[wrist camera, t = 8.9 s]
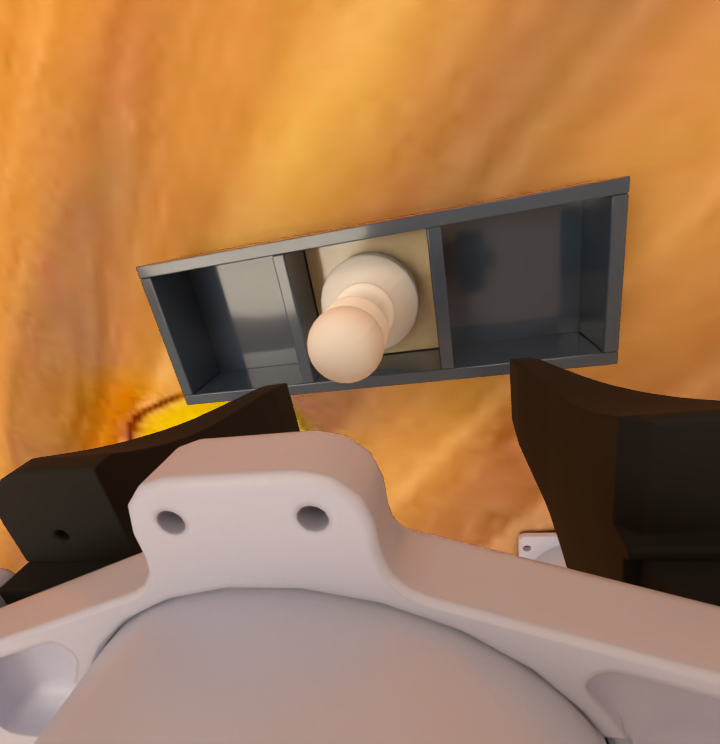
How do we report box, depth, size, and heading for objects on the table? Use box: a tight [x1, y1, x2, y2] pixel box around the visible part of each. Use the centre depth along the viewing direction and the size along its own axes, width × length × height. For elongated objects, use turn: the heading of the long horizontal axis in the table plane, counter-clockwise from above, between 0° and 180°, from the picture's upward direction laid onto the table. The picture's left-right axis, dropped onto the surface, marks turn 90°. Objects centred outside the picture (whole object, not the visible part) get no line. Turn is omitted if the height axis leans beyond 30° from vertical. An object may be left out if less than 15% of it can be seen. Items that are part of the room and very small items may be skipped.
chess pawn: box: [307, 252, 419, 383], centre depth 17 cm, size 5×5×9 cm
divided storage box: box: [136, 176, 630, 405], centre depth 20 cm, size 8×22×4 cm, turn 100°
